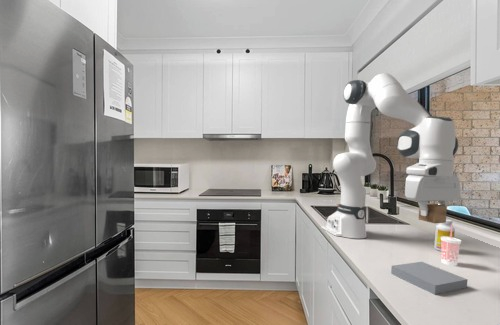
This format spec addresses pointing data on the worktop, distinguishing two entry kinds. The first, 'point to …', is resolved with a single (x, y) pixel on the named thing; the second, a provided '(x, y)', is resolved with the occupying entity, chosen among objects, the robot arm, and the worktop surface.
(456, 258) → the beverage cup
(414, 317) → the worktop surface
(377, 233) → the worktop surface
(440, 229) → the supplement bottle
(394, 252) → the worktop surface
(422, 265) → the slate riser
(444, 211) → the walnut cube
